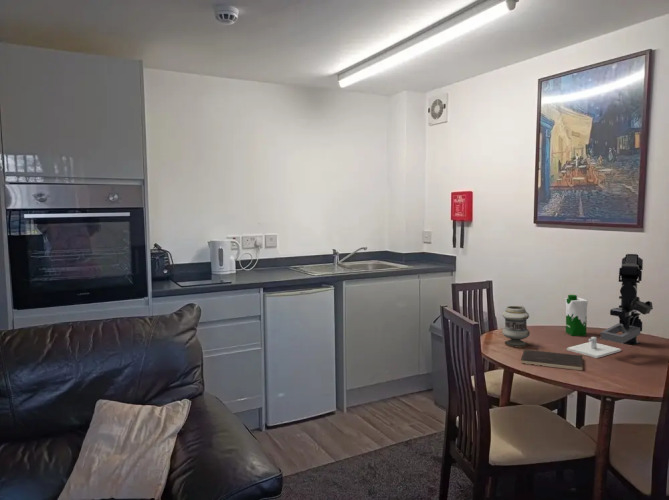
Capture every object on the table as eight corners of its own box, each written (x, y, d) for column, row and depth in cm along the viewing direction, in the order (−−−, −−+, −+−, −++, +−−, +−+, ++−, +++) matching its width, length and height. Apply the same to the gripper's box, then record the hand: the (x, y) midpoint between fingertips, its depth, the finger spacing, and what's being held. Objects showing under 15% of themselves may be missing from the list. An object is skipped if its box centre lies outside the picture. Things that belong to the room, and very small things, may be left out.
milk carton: (562, 332, 243) (563, 293, 241) (580, 331, 243) (581, 293, 241) (571, 336, 234) (572, 297, 233) (589, 336, 234) (590, 296, 232)
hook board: (590, 343, 222) (591, 331, 221) (620, 351, 209) (621, 337, 209) (566, 350, 213) (567, 337, 212) (597, 358, 201) (597, 344, 200)
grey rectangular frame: (618, 329, 209) (618, 323, 208) (640, 334, 201) (640, 327, 201) (600, 338, 202) (600, 332, 201) (622, 343, 194) (622, 336, 194)
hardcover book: (582, 372, 186) (582, 366, 186) (520, 364, 196) (520, 359, 196) (582, 360, 200) (582, 355, 200) (524, 354, 210) (524, 349, 210)
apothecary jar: (499, 340, 230) (499, 304, 229) (523, 340, 230) (524, 304, 228) (507, 347, 218) (507, 309, 216) (533, 347, 218) (533, 309, 216)
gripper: (637, 299, 191) (636, 337, 193) (660, 294, 201) (659, 330, 202) (609, 295, 201) (608, 331, 202) (633, 290, 210) (632, 324, 212)
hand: (628, 329), depth 204 cm, fingers closed on grey rectangular frame, 2 cm apart
